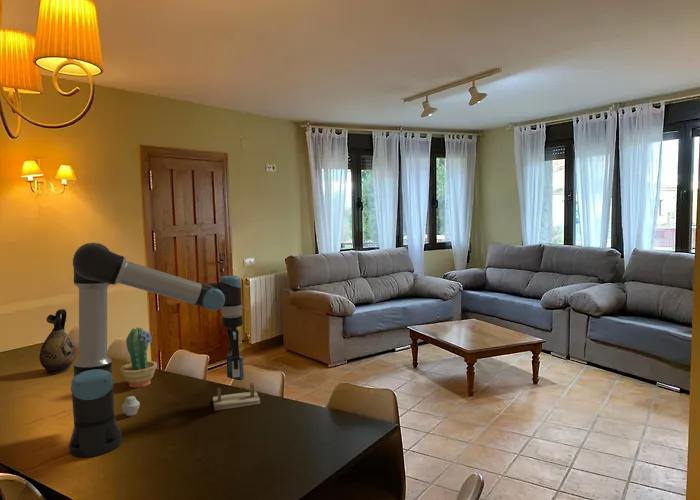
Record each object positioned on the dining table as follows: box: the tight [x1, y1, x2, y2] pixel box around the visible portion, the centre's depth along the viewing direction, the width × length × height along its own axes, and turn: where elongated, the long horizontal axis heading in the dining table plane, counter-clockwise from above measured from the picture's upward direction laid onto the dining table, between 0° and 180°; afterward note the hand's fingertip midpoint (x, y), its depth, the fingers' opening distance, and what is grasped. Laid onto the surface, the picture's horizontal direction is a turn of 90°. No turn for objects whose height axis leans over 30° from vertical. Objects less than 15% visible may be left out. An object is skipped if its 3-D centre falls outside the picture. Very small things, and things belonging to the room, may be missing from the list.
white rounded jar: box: [121, 395, 141, 417], centre depth 183 cm, size 6×6×7 cm
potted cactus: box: [119, 327, 158, 388], centre depth 217 cm, size 15×15×25 cm
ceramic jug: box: [38, 308, 77, 375], centre depth 239 cm, size 17×15×30 cm
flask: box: [225, 351, 245, 381], centre depth 191 cm, size 9×3×11 cm, turn 50°
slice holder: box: [212, 382, 261, 412], centre depth 192 cm, size 11×17×6 cm, turn 108°
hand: (235, 373), depth 192 cm, fingers closed on flask, 8 cm apart
